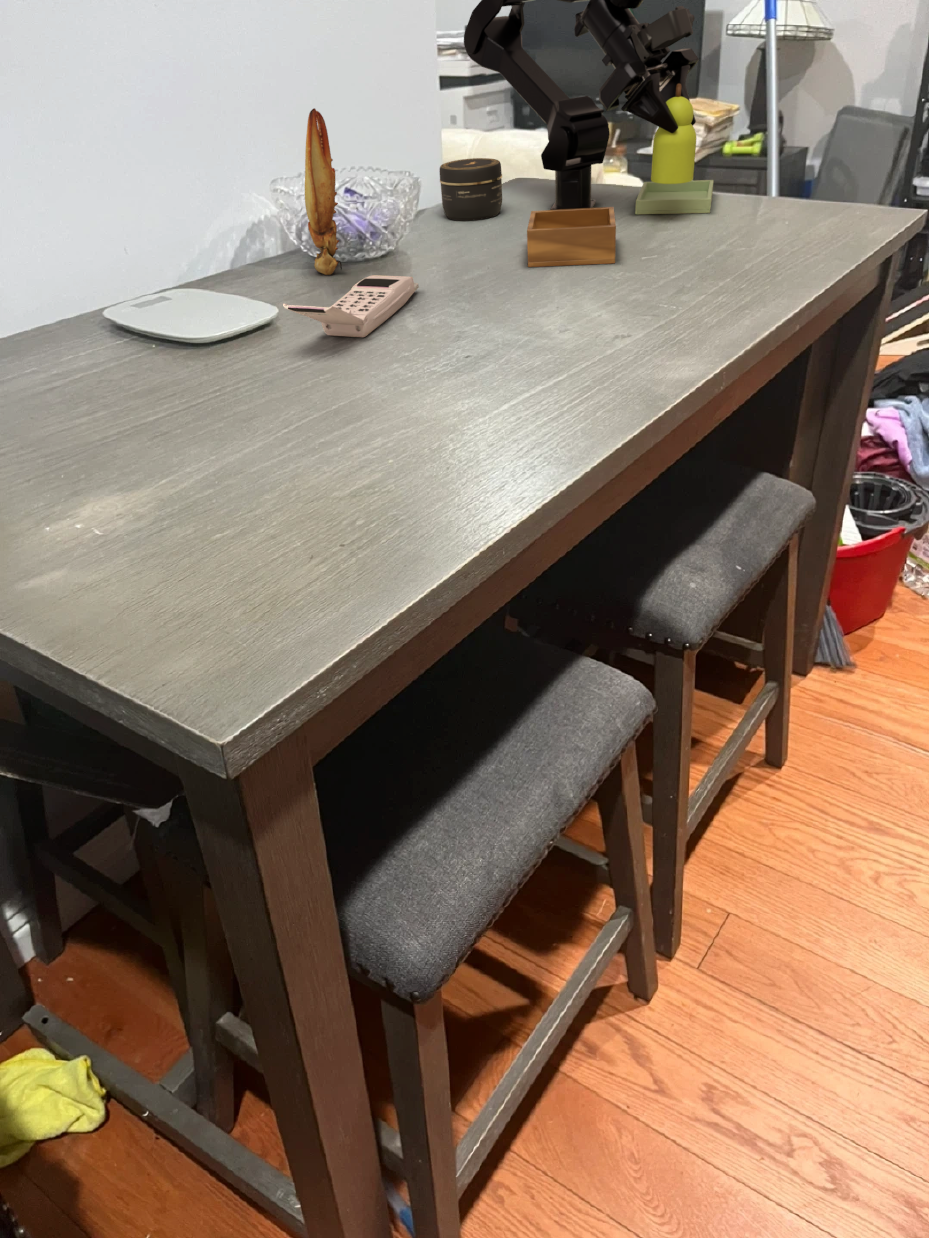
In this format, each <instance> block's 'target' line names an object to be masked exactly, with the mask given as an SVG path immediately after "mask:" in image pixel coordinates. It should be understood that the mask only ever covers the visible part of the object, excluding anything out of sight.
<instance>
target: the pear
mask: <svg viewBox="0 0 929 1238" xmlns="http://www.w3.org/2000/svg"><path fill="white" fill-rule="evenodd" d="M689 100H690V99H689ZM689 100H688V99H686V98H684V97H681V84H677V86H676V97H673V98H671V99H669V100H668V101H667V102H666V104H667V106H668V107H669V109H670V111H671V113H672V115H673V117H674V119H675V121H676V123H677V125H678V129H677V130H676V132H675V133H670V132H668V131H666V130H664V129H662V128H660V127H657V129H656V131H655V133H654V136H653V141H652V156H651V157H652V158H651V170H650V171H651V172H650V175H651V176H650V182H655V183H660V184H680V183H686V182H690V181H694V174H695V173H694V172H695V161H696V148H697V131H696V129H695V127H694V125H693V126H692V124H691V122H692V120H693V115H694V116H695V113H694V108H693V104H692V103H691V101H689Z"/></svg>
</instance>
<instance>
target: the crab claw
mask: <svg viewBox="0 0 929 1238" xmlns="http://www.w3.org/2000/svg"><path fill="white" fill-rule="evenodd" d="M304 155H305V157H304V158H305V159H304V205H305V211H306V212H305V213H306V215H307V218H308V222H307V229H308V231H309V235H310V238H311V240H312V242H313V244H314V246H315V247H316V248H317V249H319V251H320V252H319V253H318V252H316V256H315V258H314V268H315V271H317V273H320V274H323V275H325V276H331V275H333V273H334V272H335V270H336V269H337V267H338V265H339V266H340V270H341V271H342V270H343V266H342V265H343V264H342V261H341V260H339V259H337V258H336V256H335V255H336V252H337V250H339V247H338V243H339V242H340V240H339V239H337V232H338V231H337V230H338V229H337V226H338V225H337V223H336V221H335V220H334V214H337V211H336V209H335V208H336V207H337V206H338V205H339V203H338V202H336V196H337V194H338V192H337V191H336V184H337V183H336V169H335V167H333V166H332V163H333V161H334V159H333V158H332V154H331V146H330V140H329V134H328V129H327V125H326V121H325V119H324V116H323V115H322V113H321V112H320V111H318V110H317V109H316V108H312V109H311V110H310V111H309V113H308V117H307V126H306V137H305V154H304Z"/></svg>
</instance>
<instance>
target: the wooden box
mask: <svg viewBox="0 0 929 1238" xmlns="http://www.w3.org/2000/svg"><path fill="white" fill-rule="evenodd" d="M615 215H616V214H615V208H614V206H603V207H602V206H601V207H593V208H581V209H562V210H551V209H545V210H544V209H543V210H531V212H530V214H529V219H528V225H527V229H526V244H527V247H526V248H527V250H526V251H527V267H528V268H538V267H562V266H565V267H566V266H584V265H585V266H587V265H605V264H615V263H616V239H617V238H616V237H617V223H616V216H615Z"/></svg>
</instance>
